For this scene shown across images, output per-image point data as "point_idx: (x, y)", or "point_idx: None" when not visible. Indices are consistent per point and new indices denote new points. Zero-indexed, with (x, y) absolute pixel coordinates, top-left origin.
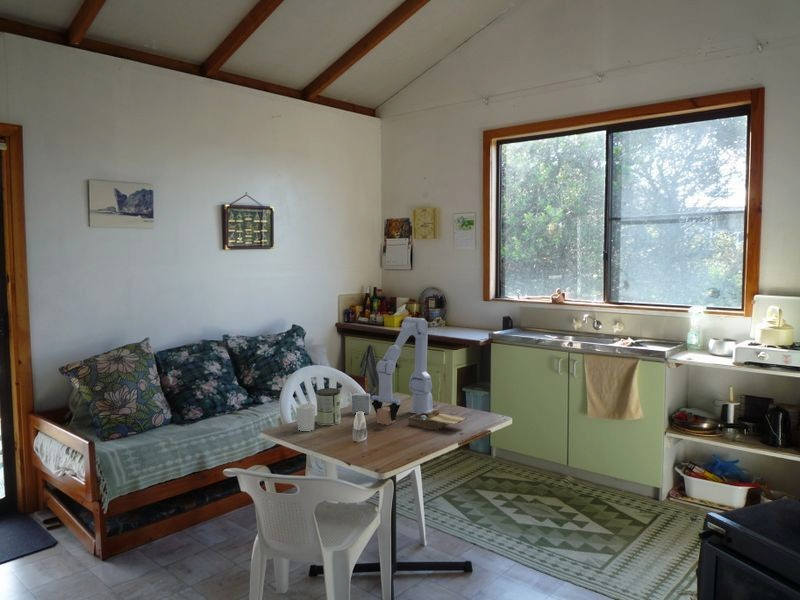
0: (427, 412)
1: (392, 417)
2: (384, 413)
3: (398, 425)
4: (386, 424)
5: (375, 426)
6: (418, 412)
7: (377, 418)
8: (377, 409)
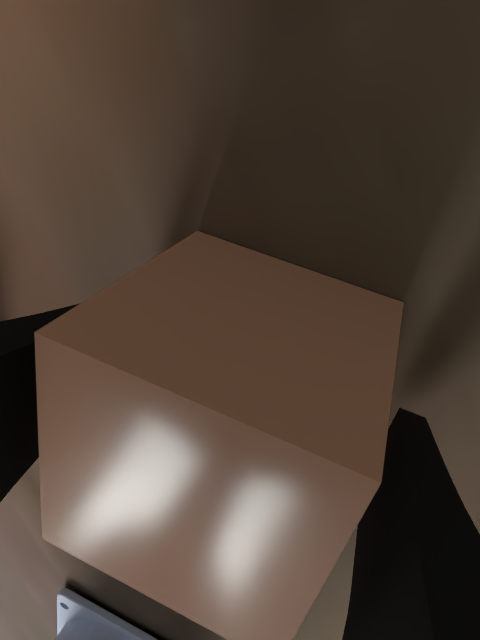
0: (58, 621)
1: (69, 307)
2: (157, 332)
3: (71, 259)
4: (215, 241)
5: (372, 89)
6: (103, 626)
7: (389, 340)
8: (365, 485)
